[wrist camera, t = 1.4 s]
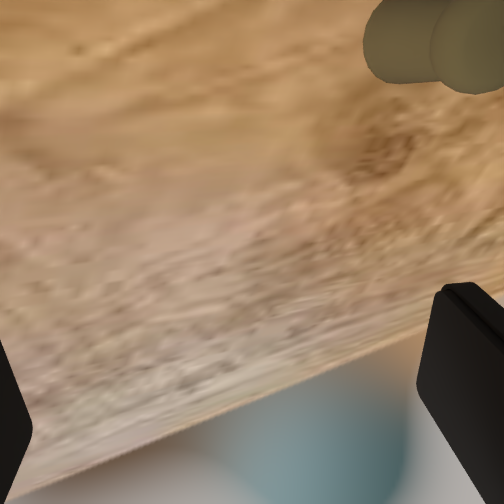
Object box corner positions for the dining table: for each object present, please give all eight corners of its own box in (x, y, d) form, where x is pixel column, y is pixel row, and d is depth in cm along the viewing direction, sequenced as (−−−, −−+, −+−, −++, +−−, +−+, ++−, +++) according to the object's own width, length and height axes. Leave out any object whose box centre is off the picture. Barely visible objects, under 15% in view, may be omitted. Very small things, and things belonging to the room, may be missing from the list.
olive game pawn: (461, 25, 29) (591, 21, 20) (404, 100, 31) (497, 130, 22) (402, -33, 27) (516, -69, 18) (345, 51, 29) (419, 60, 20)
